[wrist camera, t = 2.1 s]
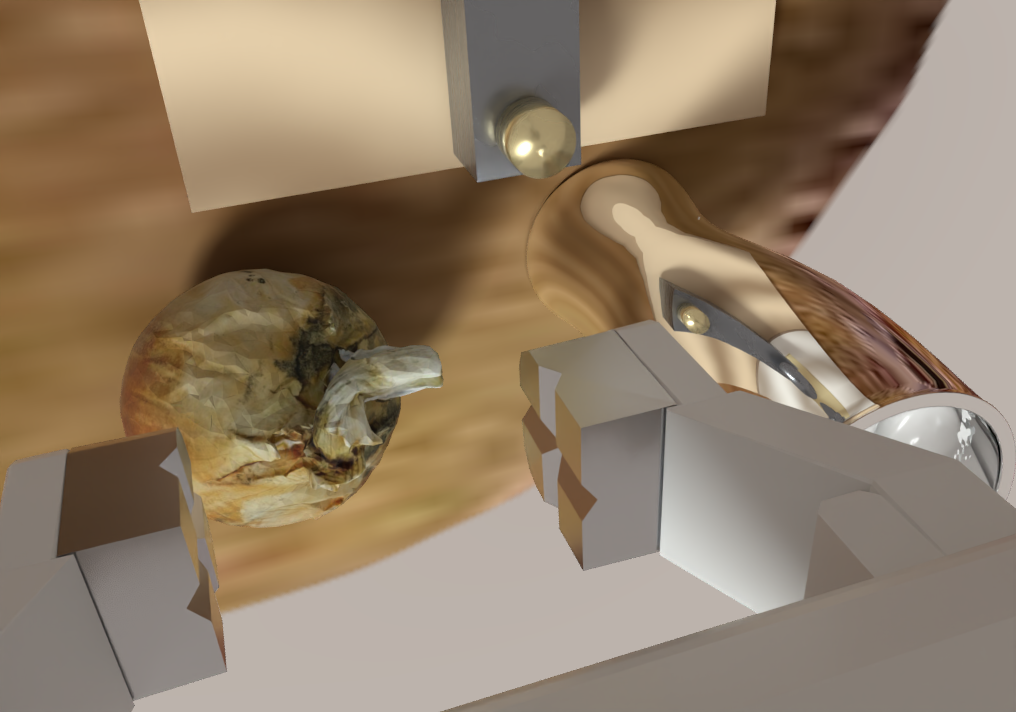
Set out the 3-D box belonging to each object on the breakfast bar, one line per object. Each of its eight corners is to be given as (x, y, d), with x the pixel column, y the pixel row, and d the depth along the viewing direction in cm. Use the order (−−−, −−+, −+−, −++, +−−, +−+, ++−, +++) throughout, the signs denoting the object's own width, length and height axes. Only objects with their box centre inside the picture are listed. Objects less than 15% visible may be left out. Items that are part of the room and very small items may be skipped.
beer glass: (663, 339, 35) (936, 636, 23) (490, 325, 33) (696, 652, 21) (728, 160, 32) (1081, 393, 20) (543, 128, 30) (822, 375, 18)
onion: (146, 204, 27) (148, 340, 21) (410, 256, 31) (484, 387, 24) (105, 425, 30) (95, 605, 24) (349, 449, 34) (399, 612, 27)
